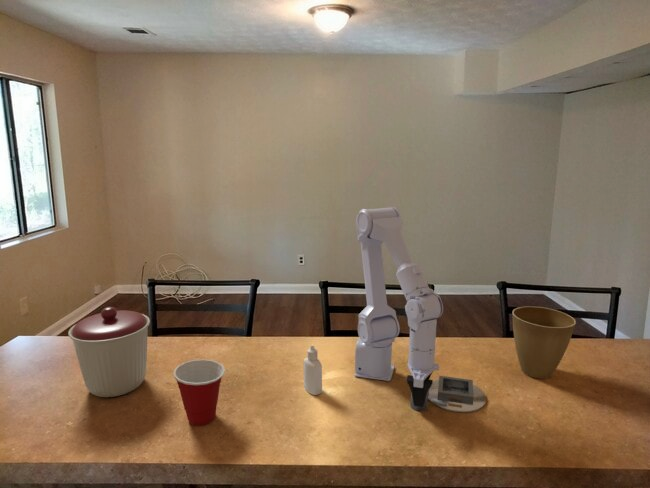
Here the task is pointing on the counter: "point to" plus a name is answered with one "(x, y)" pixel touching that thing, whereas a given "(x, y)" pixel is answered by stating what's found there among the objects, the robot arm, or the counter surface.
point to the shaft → (419, 406)
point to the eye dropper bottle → (312, 372)
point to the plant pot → (541, 339)
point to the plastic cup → (199, 389)
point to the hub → (456, 394)
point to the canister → (112, 351)
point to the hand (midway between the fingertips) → (419, 400)
